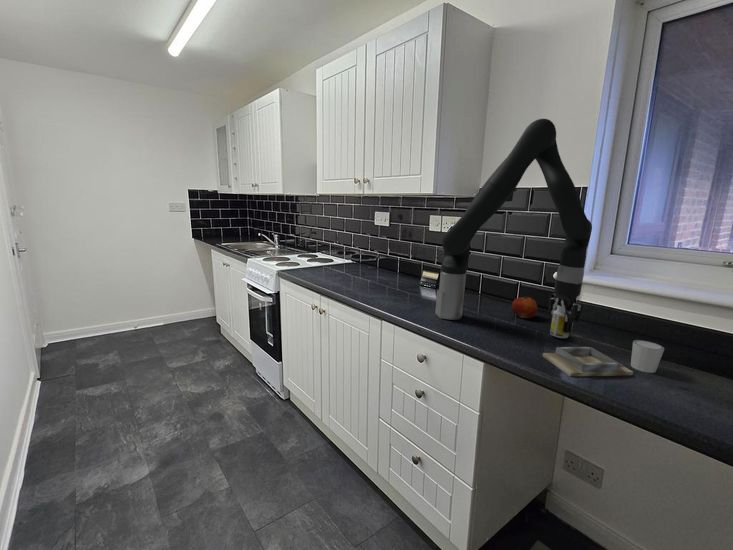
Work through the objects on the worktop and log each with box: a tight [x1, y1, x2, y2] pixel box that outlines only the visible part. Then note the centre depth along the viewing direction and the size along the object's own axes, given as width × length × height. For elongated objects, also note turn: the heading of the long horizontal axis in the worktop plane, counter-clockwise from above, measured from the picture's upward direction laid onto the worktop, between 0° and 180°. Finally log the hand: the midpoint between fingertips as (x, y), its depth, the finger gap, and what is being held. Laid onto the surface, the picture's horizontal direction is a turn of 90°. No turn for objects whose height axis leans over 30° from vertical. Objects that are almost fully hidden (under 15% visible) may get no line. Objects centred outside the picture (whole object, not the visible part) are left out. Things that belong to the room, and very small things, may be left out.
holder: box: [542, 346, 634, 377], centre depth 99 cm, size 18×12×3 cm, turn 97°
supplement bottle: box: [549, 305, 571, 339], centre depth 119 cm, size 6×6×10 cm
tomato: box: [511, 296, 538, 319], centre depth 139 cm, size 9×9×8 cm
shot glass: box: [630, 339, 665, 374], centre depth 99 cm, size 7×7×7 cm
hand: (560, 328), depth 119 cm, fingers closed on supplement bottle, 5 cm apart
